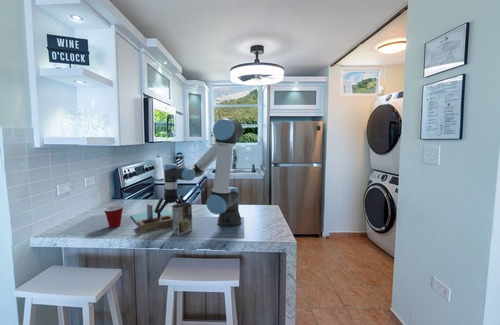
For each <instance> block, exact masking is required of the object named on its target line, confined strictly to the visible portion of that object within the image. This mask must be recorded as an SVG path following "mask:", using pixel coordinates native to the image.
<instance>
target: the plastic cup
mask: <svg viewBox="0 0 500 325" xmlns="http://www.w3.org/2000/svg"><path fill="white" fill-rule="evenodd" d="M123 208H124V205H122V204H117V205H112V206H111V205H110V206H107V207H105V208H103V209H102V210H103V212H104V213H105V216H106V219H107V224H108V227H109V228H110V229H113V228H114V229H115V227H116V228H119V227H121V224H122V217H123V216H122V215H123V210H124V209H123Z"/></svg>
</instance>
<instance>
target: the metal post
mask: <svg viewBox="0 0 500 325" xmlns="http://www.w3.org/2000/svg"><path fill="white" fill-rule="evenodd" d="M153 208H154V207H153V204H152V203H148V204H146V212H147V221H148V223H151V222H153V211H154V209H153Z"/></svg>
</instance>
